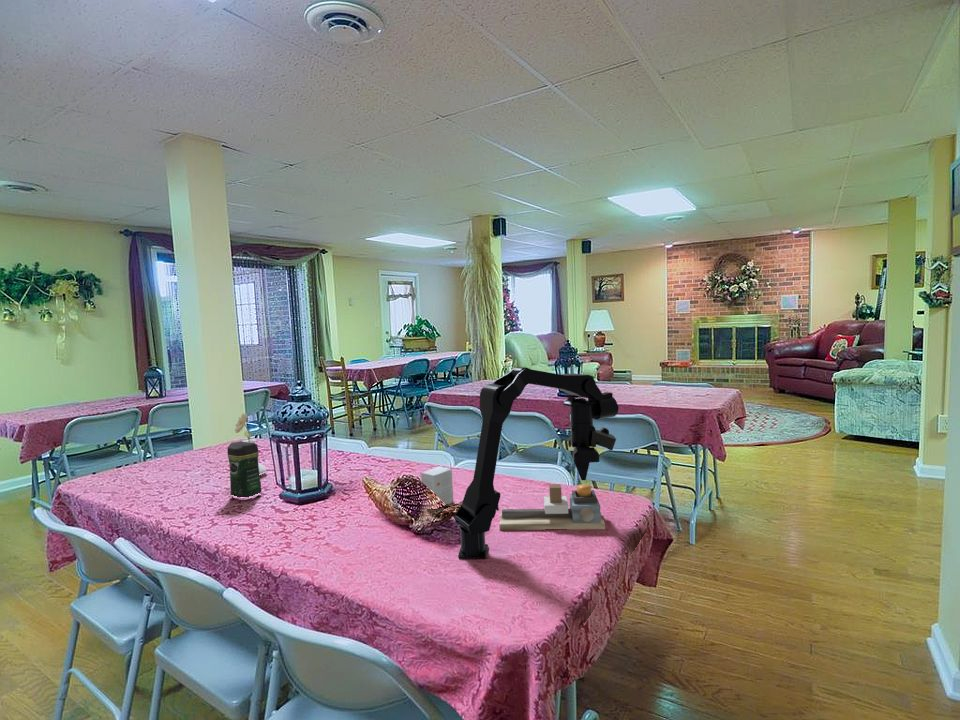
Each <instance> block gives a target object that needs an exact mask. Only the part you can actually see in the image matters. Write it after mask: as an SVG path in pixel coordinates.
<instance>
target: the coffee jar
mask: <svg viewBox="0 0 960 720" xmlns="http://www.w3.org/2000/svg"><path fill="white" fill-rule="evenodd" d="M242 441H243V440H239V441H234V442H232V443H229V445H228V446H227V458H228V464H229V479H230V480H229V481H230V496H231V495H234V496H237V497H249V496H253V495H255V494H258V493H260V492H261V491H262V483H261V476H260V475H259V465H258V463H259V447H258V444H257V443H256V442H255V443H249V442H242Z"/></svg>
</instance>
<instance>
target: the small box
mask: <svg viewBox="0 0 960 720" xmlns="http://www.w3.org/2000/svg"><path fill="white" fill-rule="evenodd" d="M420 476H421V477H420V479H421V483H422V482H423V483H424V484H425V485H426V486H427V487H428V488H430V489H431V490H432V491H433V492H434V493H435V494H436V495H437V496H438V497H439V498H440V499H441V500H442V501H443V502H444V503H445V504H448V505H451V504H452V503H454V487H453V469H452V468H449V467H444V466H440V465H439V466H436V467H433V468H431V469H428V470H425V471H422V472H421V473H420Z"/></svg>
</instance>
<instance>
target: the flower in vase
mask: <svg viewBox="0 0 960 720" xmlns="http://www.w3.org/2000/svg"><path fill="white" fill-rule="evenodd" d="M247 419H248V414H247V413H246V412H245V413H242V414H241V416H240V417H238V421H237V423H236V424H235V429H234V432H235V433H236V434H238V433H240V432H241V431H242V430H243V429H244V427H245V428H246V429H247V430H245V431H244V432H243V435H244V436H245V437H246V438H247V439H246V440H245V439H244V440H241V441H242V442H249V443H255V444H256V441H257V439H251V437H252V435H251V432H250V430H249V428H248V426H247V424H246V423H247ZM258 465H259V474H260V473H263V472H265V471H266V470H267V471H268V468H267V467H266V466H265V465H263V464H262V463H260V462H258Z"/></svg>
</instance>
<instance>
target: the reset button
mask: <svg viewBox="0 0 960 720" xmlns="http://www.w3.org/2000/svg"><path fill="white" fill-rule="evenodd" d="M591 490H592V486H591V484H586V483H581V484H578V485H577V486H576V491H577V496H579V497H590V496H591Z"/></svg>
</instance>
